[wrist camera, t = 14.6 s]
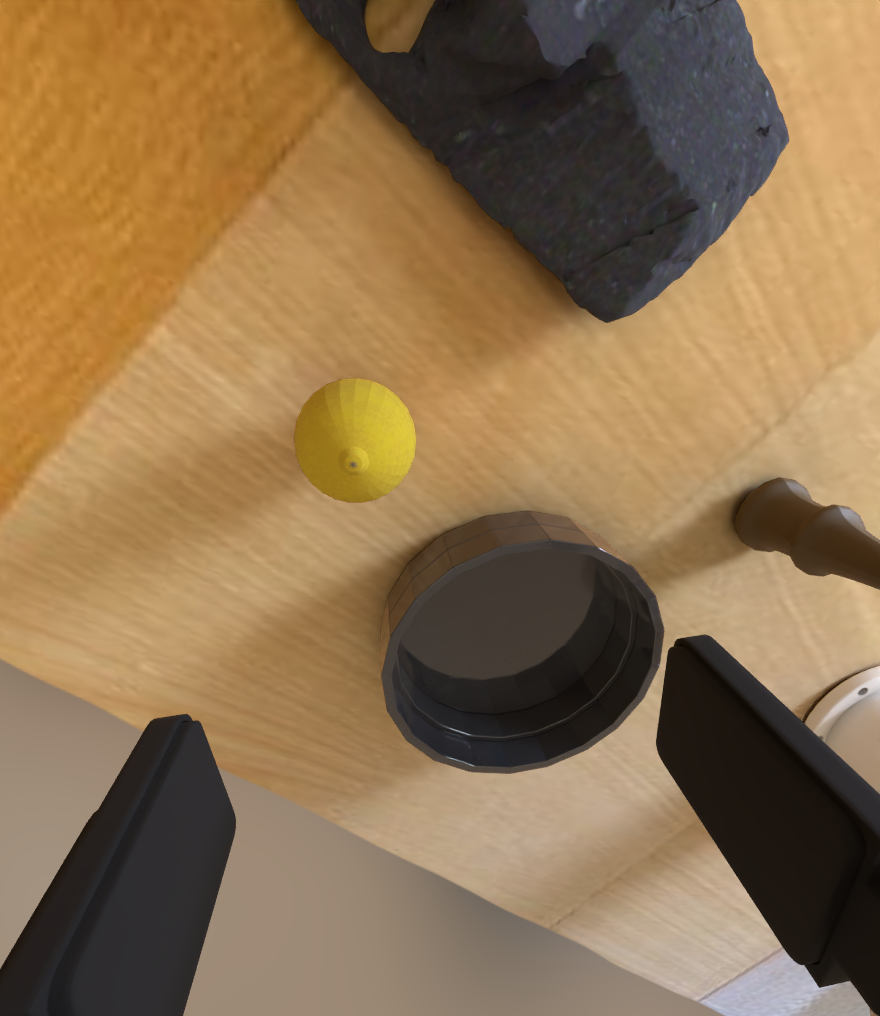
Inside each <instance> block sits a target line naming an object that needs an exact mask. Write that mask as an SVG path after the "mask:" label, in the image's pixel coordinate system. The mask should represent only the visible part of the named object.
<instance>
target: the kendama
mask: <svg viewBox="0 0 880 1016" xmlns="http://www.w3.org/2000/svg"><path fill="white" fill-rule="evenodd" d="M735 526H736V533H737V534H738V536H739V538H740V539H741V541H742V542H743V543H744V544H746V545H747V546H749V547H751V548H752V549H754V550H758V551H767V552H772V551H779V552H781V553H784V554H786V555H788V556H790V557H791V559H792V561H793V562H794V564H795V566H796V567H797V568H799V569H800V570H802V571H803V572H805V573H806V574H808V575H815V576H826V575H829V574H835V575H838V576H842V577H845V578H848V579H851V580H854V581H857V582H860V583H863V584H866V585H869V586H871V587H874V588H877V589H879V590H880V540H879V539H877V538H876V537H874V536H873V535H872V534H870V533H869V532H868V531H867V530H866V528H865V526H864V524H863V521H862V519H861V517H860V516H859V515H858V514H857V513H855V512H854V511H853V510H852V509H850V508H849V507H845V506H839V505H830V506H828V507H825V506H822V505H820V504H818V503H816V502H814V501H812V499H811V497H810V495H809V493H808V491H807V489H806V488H805V487H803V486H802V485H801V484H799V483H798V482H797V481H795V480H792V479H786V478H777V479H774V480H771V481H768V482H765V483H764V484H762V485H761V486H760V487H758V488H757V489H755V490H754V491H753V492H751V493H750V494H749V495H748V497H747V498H746V499H745V500H744V502H743V503H742V504H741V506H740V508H739V511H738V513H737V516H736V518H735Z"/></svg>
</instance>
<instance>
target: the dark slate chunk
mask: <svg viewBox="0 0 880 1016" xmlns="http://www.w3.org/2000/svg"><path fill="white" fill-rule="evenodd" d="M295 1H296V2H297V3H298V5H299V7H300V9H301V11H302V13H303V14H304V16H305V17H306V19H307V20H308V22H309V23H310V24H311V25H312V27H313V28H314V29H315V31H316V32H317V33H318V34H320V35H321V36H322V37H324V38H325V39H327V40H328V41H329V42H331V43H332V45H333V46H334V47H335V49H336V50H337V51H338V53H339V54H340V55H341V57H342V58H343V59H344V60H345V61H346V62H347V63H348V64H349V65H351V67H352V68H353V69H354V70H355V71H356V73H357V74H358V75H359V77H360V78H361V80H362V81H363V82H364V83H365V84H366V85H367V86H368V87H369V88H370V89H371V90H372V91H373V92H374V93H375V94H376V96H377V97H378V98H379V99H380V100H381V102H382V103H383V104H384V105H385V106H386V107H387V108H388V109H389V111H390V112H391V113H392V114H393V116H394V117H395V118H396V119H397V120H398V121H400V122H402V123H405V124H406V126H407V127H408V129H409V131H410V133H411V134H412V136H413V137H414V138H415V139H416V140H418V141H419V142H420V144H421V145H422V146H423V147H426V148H428V149H431V150H432V151H433V153H434V156H435V159H436V160H437V161H438V162H440V163H442V164H443V165H445V166H447V167H448V168H449V170H450V172H451V174H452V177H453V180H455V181H456V182H458V183H460V184H462V185H463V186H464V187H465V188H466V189H467V191H468V192H469V193H470V194H471V195H472V196H473V198H474V199H475V200H476V202H477V203H478V204H479V206H480V207H481V208H482V209H483V210H484V211H485V212H486V213H487V214H488V215H489V216H490V217H491V218H492V219H494V220H495V221H497V222H498V223H500V224H501V225H502V227H503V228H508V227H510V228H511V231H512V233H513V236H514V237H515V239H516V240H517V241H518V243H519V244H520V245H521V246H523V247H524V248H525V249H526V250H527V251H528V252H531V253H533V254H534V255H535V257H536V259H537V260H538V261H539V262H540V263H541V264H542V265H543V266H544V267H545V268H547V269H548V270H549V271H551V272H552V273H553V274H554V275H555V276H556V277H557V278H558V279H559V280H560V281H561V282H562V283H563V284H564V286H565V288H566V290H567V293H568V294H569V295H570V297H571V298H572V299H573V300H574V301H575V303H576V304H577V305H578V306H579V307H581V308H583V309H586V310H587V311H588V312H589V313H591V314H592V315H593V316H595V317H596V318H598V319H599V320H601V321H604V322H606V323H608V322H611V321H614V320H617V319H620V318H623V317H626V316H629V315H631V314H633V313H635V312H637V311H638V310H640V309H641V308H642V307H643V306H645V305H646V304H647V303H648V302H649V301H651V300H653V299H655V298H656V297H657V296H658V295H659V294H660V293H661V292H662V291H663V290H664V289H665V288H666V287H667V286H668V285H670V284H671V283H672V282H673V281H675V280H677V279H678V278H680V277H681V276H682V275H683V274H684V273H685V272H686V271H687V270H688V269H689V268H690V267H691V266H692V265H693V263H694V262H695V261H696V259H697V258H698V257H699V256H700V255H701V254H702V253H703V252H704V251H706V249H707V248H708V247H709V246H710V245H712V244H713V243H714V242H716V241H717V240H718V238H719V237H720V236H721V235H722V234H723V233H724V232H725V231H726V229H727V228H728V227H729V225H730V223H731V222H732V221H733V220H734V218H735V217H736V216H737V215H738V213H739V212H740V210H741V209H742V207H743V206H744V204H745V203H746V201H747V199H748V197H749V196H753V195H754V194H755V193H756V192H757V191H758V189H759V188H760V187H761V186H762V185H763V184H764V182H765V181H766V180H767V178H768V177H769V175H770V173H771V171H772V170H773V168H774V166H775V164H776V162H777V159H778V157H779V155H780V154H781V152H782V151H783V150H784V148H785V147H786V145H787V144H788V142H789V135H788V130H787V127H786V124H785V121H784V118H783V114H782V113H781V111H780V110H779V108H778V105H777V101H776V98H775V94H774V91H773V89H772V87H771V84H770V82H769V81H768V79H767V77H766V76H765V74H764V72H763V70H762V68H761V67H760V66H759V64H758V62H757V60H756V58H755V56H754V51H753V42H752V37H751V35H750V33H749V32H748V30H747V27H746V23H745V18H744V15H743V12H742V10H741V8H740V6H739V4H738V3H737V1H736V0H436V1H435V2H434V4H433V5H432V7H431V9H430V11H429V13H428V15H427V17H426V19H425V22H424V24H423V26H422V29H421V31H420V33H419V35H418V38H417V39H416V41H415V43H414V45H413V46H412V48H411V49H410V51H409V53H407V52H402V53H396V52H390V53H382V52H379V51H377V50H376V49H374V48H373V47H372V45H371V43H370V41H369V38H368V35H367V31H366V27H365V20H364V13H365V7H366V3H367V0H295Z"/></svg>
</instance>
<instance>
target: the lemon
mask: <svg viewBox="0 0 880 1016" xmlns="http://www.w3.org/2000/svg"><path fill="white" fill-rule="evenodd" d="M294 443H295V451H296V456H297V459H298V461H299V464H300V466H301V469H302V471H303V473H304V474H305V475H306V477H307V478H308V479H309V481H310V482H311V483H312V484H313V485H314V486H315V487H316V488H317V489H319V490H320V491H321V492H322V493H324V494H326V495H328V496H330V497H332V498H334V499H337V500H341V501H345V502H358V503H363V502H367V501H372V500H376V499H378V498H380V497H382V496H384V495H386V494H388V493H389V492H390V491H392V490H393V489H394V488H395V487H396V486H398V485H399V484H400V482H401V481H402V480H403V478H404V477H405V475H406V474H407V473H408V471H409V469H410V466H411V464H412V461H413V458H414V455H415V446H416V436H415V429H414V423H413V421H412V418H411V416H410V414H409V411H408V409H407V408H406V406H405V405H404V404H403V403H402V401H401V400H400V399H399V397H398V396H397V395H395V394H394V393H393V392H392V391H390V390H389V389H388V388H387V387H385V386H383V385H380V384H378V383H376V382H374V381H371V380H366V379H360V378H350V379H340V380H337V381H335V382H332V383H329V384H326V385H325V386H324V387H322V388H321V389H319V390H318V391H316V392H315V393H314V394H313V395H312V396H311V397H310V398H309V400H308V401H307V402H306V403H305V404H304V406H303V408H302V410H301V412H300V414H299V417H298V419H297V421H296V428H295V435H294Z"/></svg>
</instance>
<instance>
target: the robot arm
mask: <svg viewBox="0 0 880 1016" xmlns="http://www.w3.org/2000/svg"><path fill="white" fill-rule="evenodd" d="M656 746H657V750H658V754H659V756H660V758H661V760H662V762H663V763H664V765H665V766H666V768H667V770H668V771H669V773H670V774H671V776H672V777H673V779H674V780H675V782H676V783H677V785H678V786H679V788H680V790H681V791H682V793H683V794H684V796H685V797H686V799H687V800H688V802H689V803H690V805H691V806H692V808H693V810H694V811H695V813H696V814H697V816H698V817H699V819H700V820H701V822H702V823H703V825H704V826H705V828H706V830H707V831H708V833H709V834H710V836H711V837H712V839H713V840H714V842H715V843H716V845H717V846H718V848H719V849H720V851H721V853H722V854H723V856H724V857H725V859H726V860H727V862H728V863H729V865H730V866H731V868H732V869H733V871H734V873H735V874H736V876H737V877H738V879H739V880H740V882H741V883H742V885H743V886H744V888H745V889H746V891H747V893H748V894H749V896H750V897H751V899H752V900H753V902H754V903H755V905H756V906H757V908H758V909H759V911H760V913H761V914H762V916H763V917H764V919H765V920H766V922H767V923H768V925H769V926H770V928H771V929H772V931H773V932H774V934H775V936H776V937H777V939H778V940H779V942H780V943H781V945H782V946H783V948H784V949H785V951H786V952H787V953H788V955H789V956H790V957H791V958H792V959H793V960H794V961H795V962H796V963H798V964H799V965H805V967H806V968H807V970H808V971H809V973H810V974H811V976H812V977H813V979H814V980H815V982H816V983H817V985H818V986H819V988H821V987H825V986H829V985H834V984H838V983H843V982H847V981H851V982H852V984H853V985H854V986H855V988H856V989H857V991H858V992H859V993H860V995H861V996H862V997H863V999H864V1000H865V1002H866V1003H867V1004H868V1006H869V1007H870V1014H871V1016H880V666H877V667H874V668H871V669H868V670H865V671H863V672H861V673H859V674H856V675H854V676H852V677H851V678H849V679H847V680H846V681H844V682H842V683H841V684H839V685H838V686H837V687H835V688H834V689H833V690H832V691H830V692H829V693H828V694H827V695H826V696H825V697H824V698H823V699H822V700H821V701H820V702H819V703H818V704H817V705H816V706H815V708H814V709H813V710H812V712H811V713H810V714H809V716H808V718H807V719H806V721H805V723H803V722H802V721H801V720H800V719H799V718H798V717H797V716H796V715H795V714H794V713H792V712H791V711H790V710H789V709H788V708H787V707H786V706H785V705H784V704H783V703H782V702H781V701H780V700H779V699H777V698H776V697H775V696H774V695H773V694H772V693H771V692H770V691H769V690H768V689H767V688H766V687H765V686H764V685H762V684H761V683H760V682H759V681H758V680H757V679H756V678H755V677H754V676H753V675H752V674H751V673H750V672H749V671H747V670H746V669H745V668H744V667H743V666H742V665H741V664H740V663H739V662H738V661H737V660H736V659H735V658H734V657H732V656H731V655H730V654H729V653H728V652H727V651H726V650H725V649H724V648H723V647H722V646H721V645H720V644H719V643H717V642H716V641H715V640H714V639H713V638H712V637H710V636H708V635H699V636H692V637H686V638H680V639H677V640H676V641H675V644H674V647H671V648H670V649H669V650H668V655H667V663H666V670H665V678H664V685H663V693H662V700H661V708H660V716H659V723H658V731H657V738H656ZM235 828H236V818H235V813H234V810H233V807H232V805H231V802H230V799H229V797H228V794H227V791H226V789H225V786H224V783H223V781H222V778H221V775H220V773H219V770H218V767H217V765H216V762H215V759H214V757H213V754H212V751H211V749H210V746H209V743H208V741H207V738H206V735H205V733H204V730H203V727H202V725H201V723H200V722H199V721H193V720H192V719H191V717H190V716H189V715H188V714H183V715H176V716H170V717H163V718H156V719H153V720H152V721H150V723H149V724H148V725H147V727H146V728H145V730H144V732H143V734H142V735H141V737H140V739H139V741H138V742H137V744H136V746H135V748H134V749H133V751H132V753H131V754H130V756H129V758H128V759H127V761H126V763H125V764H124V766H123V768H122V770H121V771H120V773H119V775H118V776H117V778H116V780H115V782H114V783H113V785H112V787H111V788H110V790H109V792H108V794H107V795H106V797H105V799H104V801H103V802H102V804H101V806H100V807H99V809H98V810H97V811H96V812H95V813H94V814H93V815H92V816H91V818H90V819H89V820H88V822H87V823H86V825H85V827H84V828H83V830H82V832H81V833H80V835H79V837H78V838H77V840H76V842H75V843H74V845H73V847H72V849H71V850H70V852H69V854H68V855H67V857H66V859H65V860H64V862H63V864H62V865H61V867H60V869H59V870H58V872H57V874H56V876H55V877H54V879H53V881H52V883H51V884H50V886H49V888H48V889H47V891H46V892H45V894H44V896H43V898H42V899H41V901H40V903H39V904H38V906H37V908H36V909H35V911H34V913H33V915H32V916H31V918H30V920H29V921H28V923H27V925H26V926H25V928H24V930H23V931H22V933H21V935H20V937H19V938H18V940H17V942H16V943H15V945H14V947H13V948H12V950H11V952H10V953H9V955H8V957H7V959H6V960H5V962H4V964H3V965H2V967H1V969H0V1016H183V1014H184V1010H185V1007H186V1003H187V1000H188V996H189V993H190V989H191V986H192V982H193V979H194V975H195V972H196V968H197V965H198V961H199V958H200V954H201V951H202V947H203V944H204V940H205V937H206V933H207V930H208V926H209V923H210V919H211V916H212V912H213V909H214V905H215V902H216V898H217V894H218V891H219V888H220V884H221V881H222V877H223V874H224V870H225V867H226V863H227V860H228V856H229V853H230V849H231V846H232V842H233V838H234V835H235Z"/></svg>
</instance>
